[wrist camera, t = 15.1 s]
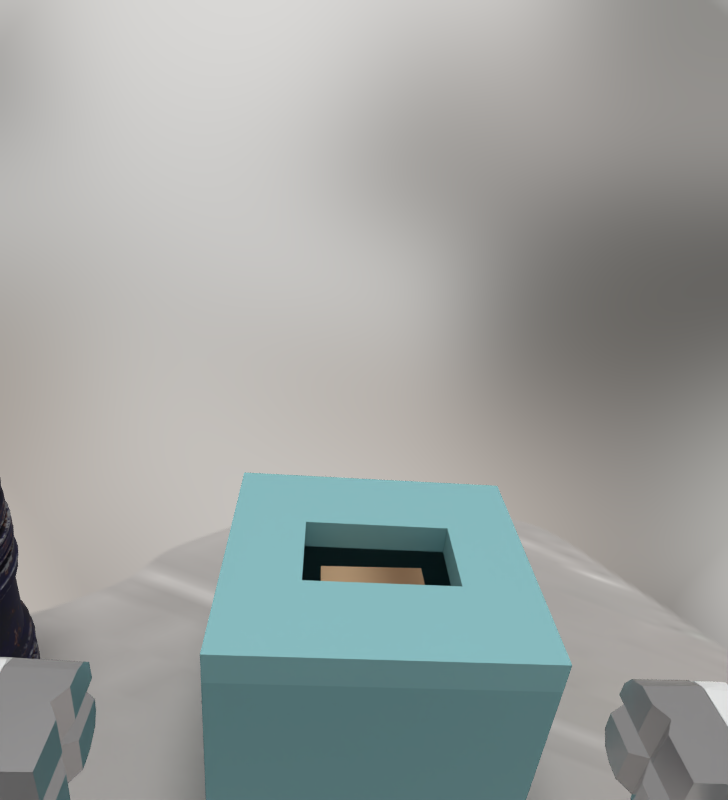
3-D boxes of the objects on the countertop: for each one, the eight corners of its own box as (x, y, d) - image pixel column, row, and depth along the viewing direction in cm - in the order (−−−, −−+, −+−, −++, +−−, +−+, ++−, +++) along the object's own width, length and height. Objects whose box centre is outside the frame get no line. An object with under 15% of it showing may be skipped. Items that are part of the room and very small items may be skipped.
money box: (208, 855, 28) (200, 654, 22) (243, 644, 38) (244, 472, 33) (506, 856, 29) (571, 665, 23) (460, 651, 40) (497, 485, 34)
